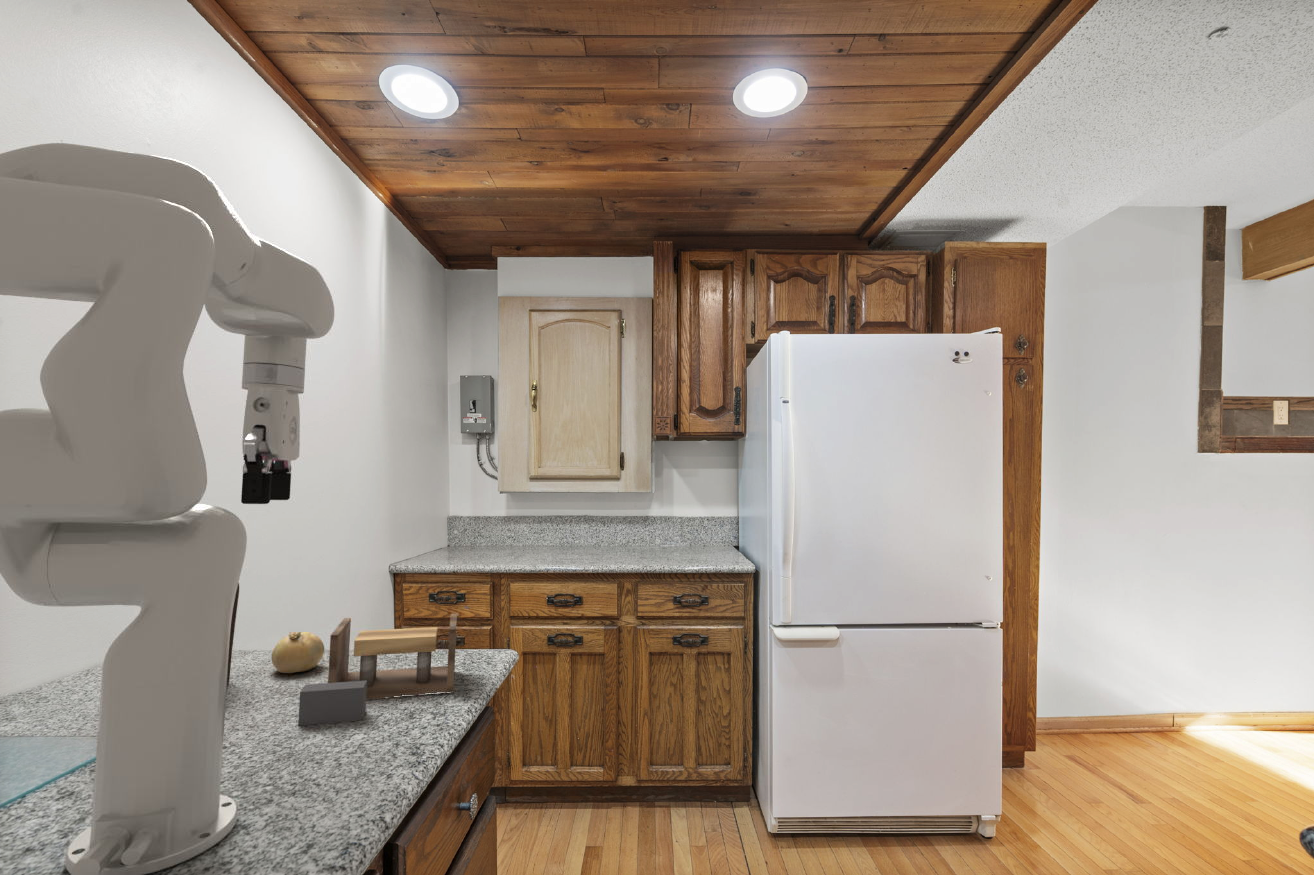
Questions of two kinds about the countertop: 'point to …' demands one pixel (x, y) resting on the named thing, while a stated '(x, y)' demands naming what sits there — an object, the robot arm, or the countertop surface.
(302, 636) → the onion
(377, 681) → the shelf cradle
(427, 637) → the oak board
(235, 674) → the countertop surface
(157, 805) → the robot arm
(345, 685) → the block
